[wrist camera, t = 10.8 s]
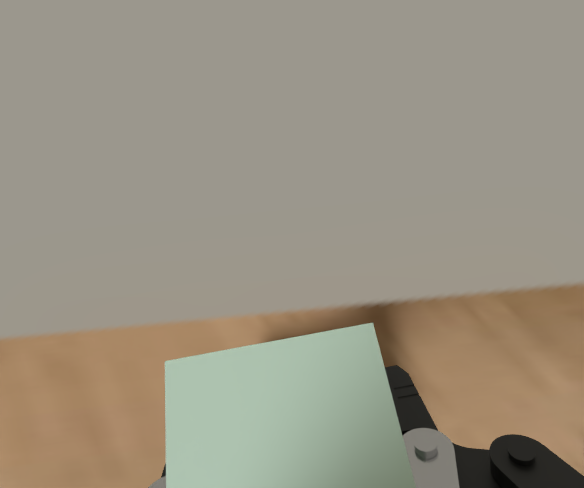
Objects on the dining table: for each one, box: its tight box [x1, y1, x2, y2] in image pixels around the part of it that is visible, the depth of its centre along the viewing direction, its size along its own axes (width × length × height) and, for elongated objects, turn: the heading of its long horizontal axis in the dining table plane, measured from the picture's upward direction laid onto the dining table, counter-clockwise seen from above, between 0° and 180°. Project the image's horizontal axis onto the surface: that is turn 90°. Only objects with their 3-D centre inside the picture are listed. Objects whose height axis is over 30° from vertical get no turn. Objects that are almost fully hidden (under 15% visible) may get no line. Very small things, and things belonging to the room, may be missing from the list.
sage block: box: [165, 323, 416, 488], centre depth 12 cm, size 4×4×10 cm
